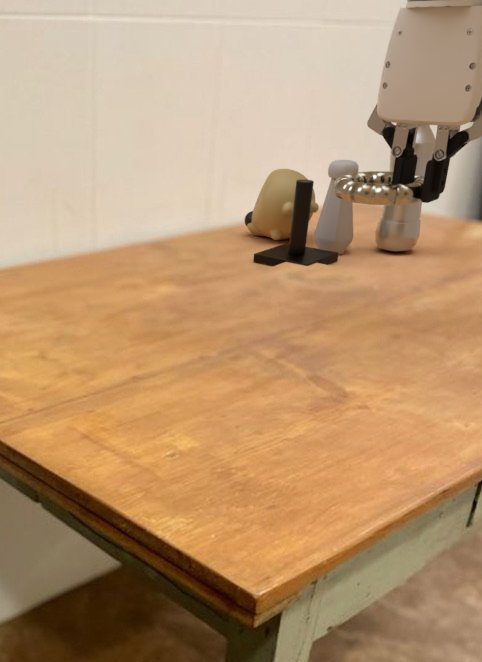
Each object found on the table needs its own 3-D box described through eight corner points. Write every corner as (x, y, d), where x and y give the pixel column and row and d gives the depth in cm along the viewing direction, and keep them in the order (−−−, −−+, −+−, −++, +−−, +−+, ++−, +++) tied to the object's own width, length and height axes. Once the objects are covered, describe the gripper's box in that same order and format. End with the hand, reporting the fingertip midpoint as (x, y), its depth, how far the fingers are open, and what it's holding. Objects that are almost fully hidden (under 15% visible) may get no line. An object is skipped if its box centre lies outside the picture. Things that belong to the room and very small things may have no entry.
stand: (337, 260, 121) (349, 180, 115) (306, 272, 115) (317, 189, 110) (285, 250, 126) (294, 173, 120) (253, 262, 121) (260, 181, 115)
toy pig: (296, 256, 137) (274, 204, 140) (337, 209, 127) (312, 153, 129) (248, 261, 133) (226, 207, 136) (285, 213, 123) (261, 155, 125)
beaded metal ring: (445, 195, 87) (449, 175, 86) (404, 210, 81) (407, 189, 80) (360, 186, 93) (362, 167, 92) (315, 199, 87) (317, 179, 86)
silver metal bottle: (365, 251, 126) (389, 107, 115) (383, 243, 130) (408, 103, 120) (405, 258, 122) (433, 109, 112) (423, 249, 127) (452, 106, 116)
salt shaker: (304, 251, 126) (316, 160, 119) (326, 245, 129) (338, 156, 122) (336, 258, 122) (350, 164, 116) (358, 251, 126) (372, 160, 119)
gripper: (556, -15, 73) (507, 202, 83) (387, -8, 82) (361, 186, 92) (527, -16, 68) (479, 214, 78) (352, -8, 78) (328, 196, 87)
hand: (415, 197), depth 85 cm, fingers closed on beaded metal ring, 2 cm apart
